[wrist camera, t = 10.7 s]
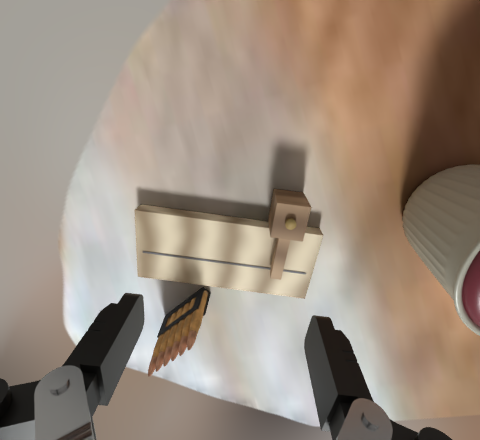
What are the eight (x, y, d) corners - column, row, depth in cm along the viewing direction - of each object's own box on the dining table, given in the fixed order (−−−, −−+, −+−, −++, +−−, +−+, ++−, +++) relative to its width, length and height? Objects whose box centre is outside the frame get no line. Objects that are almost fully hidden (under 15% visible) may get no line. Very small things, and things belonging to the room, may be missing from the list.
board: (143, 268, 46) (137, 276, 43) (141, 204, 41) (134, 210, 38) (302, 289, 46) (304, 299, 44) (319, 228, 41) (323, 235, 39)
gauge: (273, 188, 39) (277, 204, 33) (303, 192, 39) (312, 209, 33) (260, 259, 44) (261, 284, 38) (286, 263, 44) (291, 288, 38)
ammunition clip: (203, 286, 47) (188, 343, 36) (211, 292, 47) (198, 350, 36) (165, 315, 50) (140, 375, 39) (172, 321, 51) (149, 382, 40)
